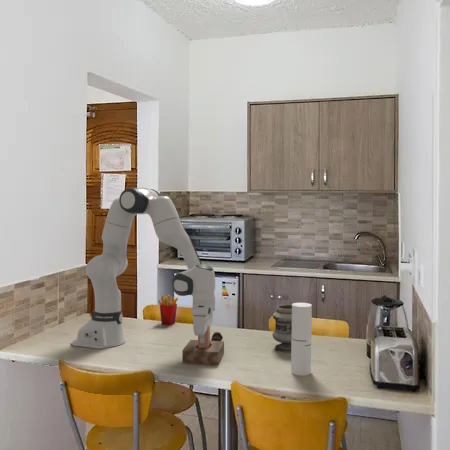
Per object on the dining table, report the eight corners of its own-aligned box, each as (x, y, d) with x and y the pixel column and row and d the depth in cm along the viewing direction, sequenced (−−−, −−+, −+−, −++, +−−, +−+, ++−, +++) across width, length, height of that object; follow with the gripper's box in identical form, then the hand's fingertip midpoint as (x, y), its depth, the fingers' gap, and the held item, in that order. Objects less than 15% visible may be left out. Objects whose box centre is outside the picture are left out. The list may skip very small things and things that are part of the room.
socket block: (182, 363, 189) (182, 350, 189) (190, 351, 203) (190, 339, 203) (218, 365, 187) (218, 352, 187) (224, 353, 201) (224, 341, 201)
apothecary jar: (266, 348, 208) (266, 306, 207) (283, 342, 217) (284, 301, 215) (290, 355, 200) (290, 311, 198) (306, 348, 208) (307, 306, 207)
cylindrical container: (289, 368, 184) (290, 302, 182) (307, 368, 184) (309, 302, 183) (293, 375, 177) (294, 307, 175) (312, 375, 177) (314, 306, 176)
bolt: (219, 343, 221) (217, 353, 206) (209, 337, 221) (207, 347, 206) (225, 332, 220) (224, 341, 206) (216, 326, 221) (214, 335, 206)
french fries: (165, 321, 250) (165, 292, 249) (180, 323, 247) (180, 293, 246) (156, 325, 242) (156, 295, 241) (171, 327, 239) (171, 297, 238)
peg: (197, 357, 194) (198, 326, 193) (200, 353, 198) (200, 324, 197) (207, 357, 193) (208, 327, 192) (209, 354, 197) (209, 324, 196)
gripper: (201, 300, 205) (201, 332, 206) (190, 311, 185) (190, 347, 185) (216, 300, 204) (216, 333, 205) (206, 312, 184) (206, 348, 184)
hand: (203, 340), depth 195 cm, fingers closed on peg, 4 cm apart
